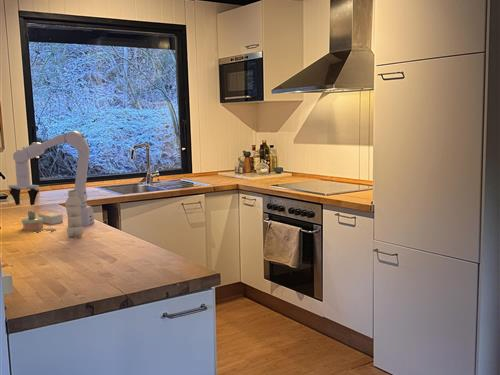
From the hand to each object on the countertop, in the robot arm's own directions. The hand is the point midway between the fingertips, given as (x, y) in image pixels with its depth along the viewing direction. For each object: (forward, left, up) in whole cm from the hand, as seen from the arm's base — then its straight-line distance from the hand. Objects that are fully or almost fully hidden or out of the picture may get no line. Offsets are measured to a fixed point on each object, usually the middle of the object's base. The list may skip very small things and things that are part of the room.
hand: (25, 204), depth 244 cm
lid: (-6, +4, -7) cm, 10 cm away
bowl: (-6, +4, -10) cm, 13 cm away
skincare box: (-1, -13, -8) cm, 16 cm away
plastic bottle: (-34, +16, -11) cm, 39 cm away
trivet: (-15, +9, -10) cm, 20 cm away
